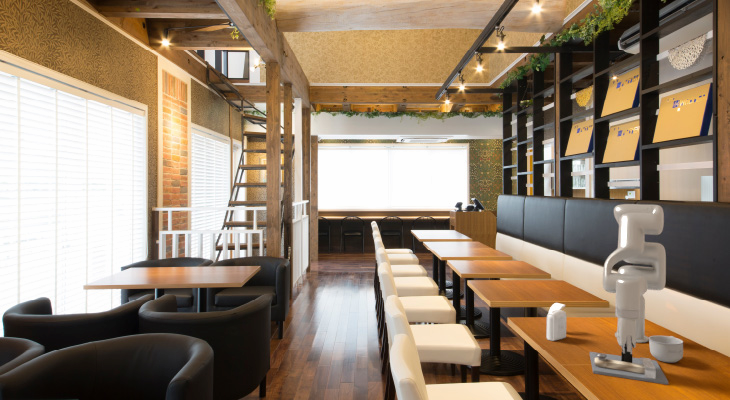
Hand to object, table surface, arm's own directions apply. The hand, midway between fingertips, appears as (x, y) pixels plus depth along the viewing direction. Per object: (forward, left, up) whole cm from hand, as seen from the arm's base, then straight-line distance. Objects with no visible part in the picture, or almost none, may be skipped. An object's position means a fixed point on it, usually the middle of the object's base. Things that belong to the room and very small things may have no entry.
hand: (626, 363), depth 156 cm
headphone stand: (-38, -23, -2) cm, 45 cm away
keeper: (+3, +6, -2) cm, 7 cm away
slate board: (-1, 0, -2) cm, 2 cm away
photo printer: (-26, -23, -2) cm, 35 cm away
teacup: (-18, +16, -2) cm, 24 cm away
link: (+3, -1, -1) cm, 3 cm away
